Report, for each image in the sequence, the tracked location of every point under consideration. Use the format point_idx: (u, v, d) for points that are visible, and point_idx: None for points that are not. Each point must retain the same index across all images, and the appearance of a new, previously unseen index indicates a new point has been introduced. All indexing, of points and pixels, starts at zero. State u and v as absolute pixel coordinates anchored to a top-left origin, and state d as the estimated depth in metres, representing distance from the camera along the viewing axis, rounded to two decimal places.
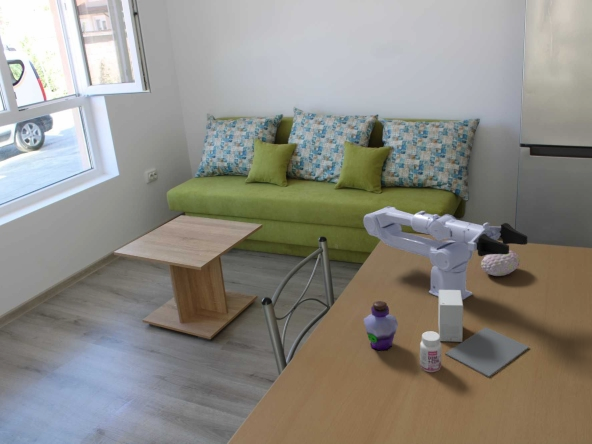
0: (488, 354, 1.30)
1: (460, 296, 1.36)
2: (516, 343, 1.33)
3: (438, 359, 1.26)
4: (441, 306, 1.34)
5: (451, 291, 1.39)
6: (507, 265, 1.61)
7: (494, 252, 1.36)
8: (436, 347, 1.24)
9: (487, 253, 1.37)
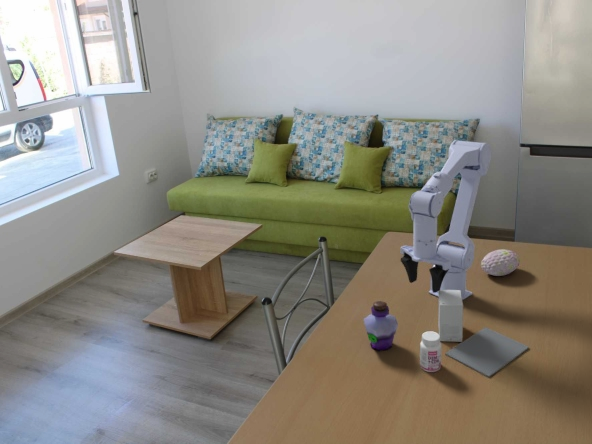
0: (488, 354, 1.30)
1: (460, 296, 1.36)
2: (516, 343, 1.33)
3: (438, 359, 1.26)
4: (441, 306, 1.34)
5: (451, 291, 1.39)
6: (507, 265, 1.61)
7: None
8: (436, 347, 1.24)
9: None
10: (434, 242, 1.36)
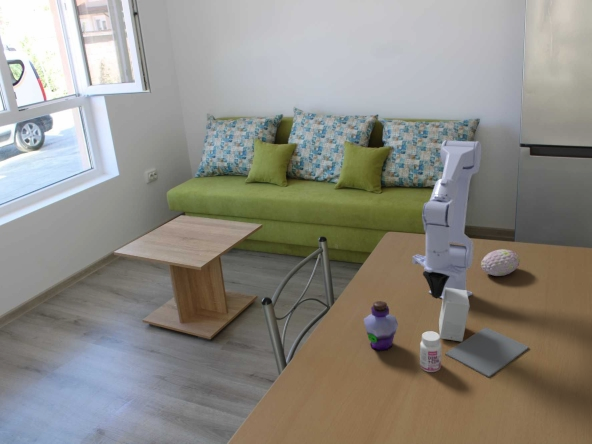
0: (488, 354, 1.30)
1: (466, 296, 1.36)
2: (516, 343, 1.33)
3: (438, 359, 1.26)
4: (447, 303, 1.33)
5: (457, 290, 1.39)
6: (507, 265, 1.61)
7: None
8: (436, 347, 1.24)
9: None
10: (447, 252, 1.33)
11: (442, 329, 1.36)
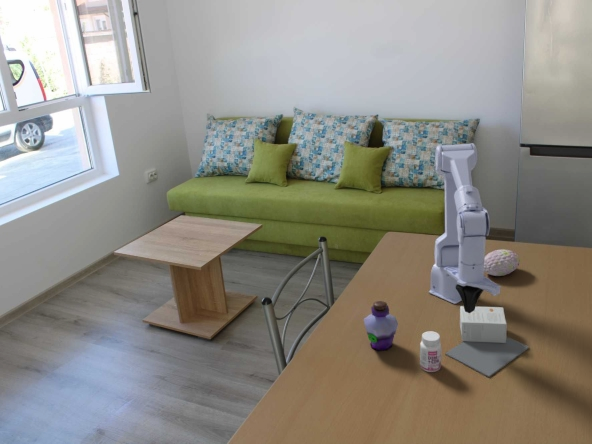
0: (488, 354, 1.30)
1: None
2: (516, 343, 1.33)
3: (438, 359, 1.26)
4: (505, 325, 1.32)
5: None
6: (507, 265, 1.61)
7: None
8: (436, 347, 1.24)
9: None
10: (482, 265, 1.26)
11: (473, 323, 1.33)
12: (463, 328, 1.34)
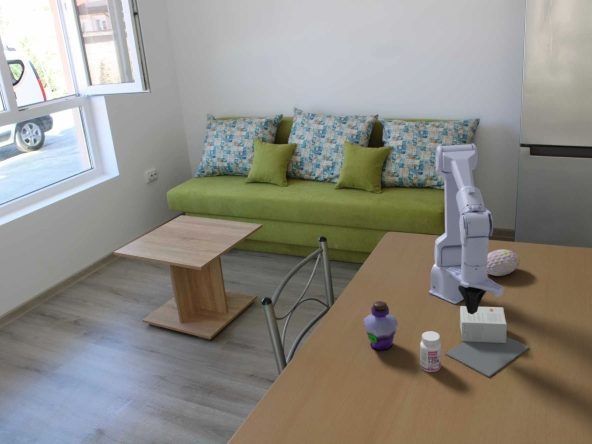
0: (488, 354, 1.30)
1: None
2: (516, 343, 1.33)
3: (438, 359, 1.26)
4: (505, 325, 1.32)
5: None
6: (507, 265, 1.61)
7: None
8: (436, 347, 1.24)
9: None
10: (485, 266, 1.25)
11: (473, 323, 1.33)
12: (463, 328, 1.34)
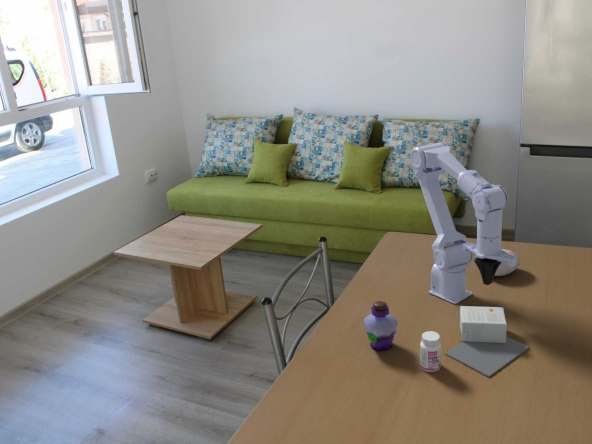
0: (488, 354, 1.30)
1: None
2: (516, 343, 1.33)
3: (438, 359, 1.26)
4: (505, 325, 1.32)
5: None
6: (507, 265, 1.61)
7: None
8: (436, 347, 1.24)
9: None
10: (499, 238, 1.35)
11: (473, 323, 1.33)
12: (463, 328, 1.34)
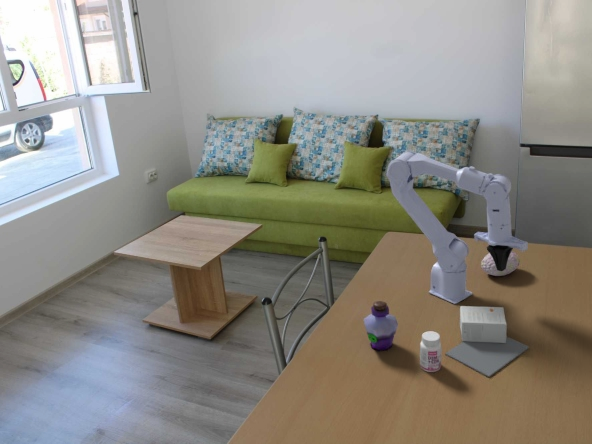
0: (488, 354, 1.30)
1: None
2: (516, 343, 1.33)
3: (438, 359, 1.26)
4: (505, 325, 1.32)
5: None
6: (507, 265, 1.61)
7: None
8: (436, 347, 1.24)
9: None
10: (509, 225, 1.41)
11: (473, 323, 1.33)
12: (463, 328, 1.34)
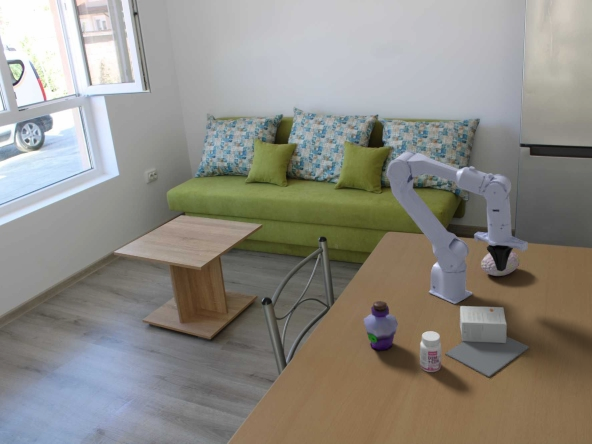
0: (488, 354, 1.30)
1: None
2: (516, 343, 1.33)
3: (438, 359, 1.26)
4: (505, 325, 1.32)
5: None
6: (507, 265, 1.61)
7: None
8: (436, 347, 1.24)
9: None
10: (509, 225, 1.41)
11: (473, 323, 1.33)
12: (463, 328, 1.34)
